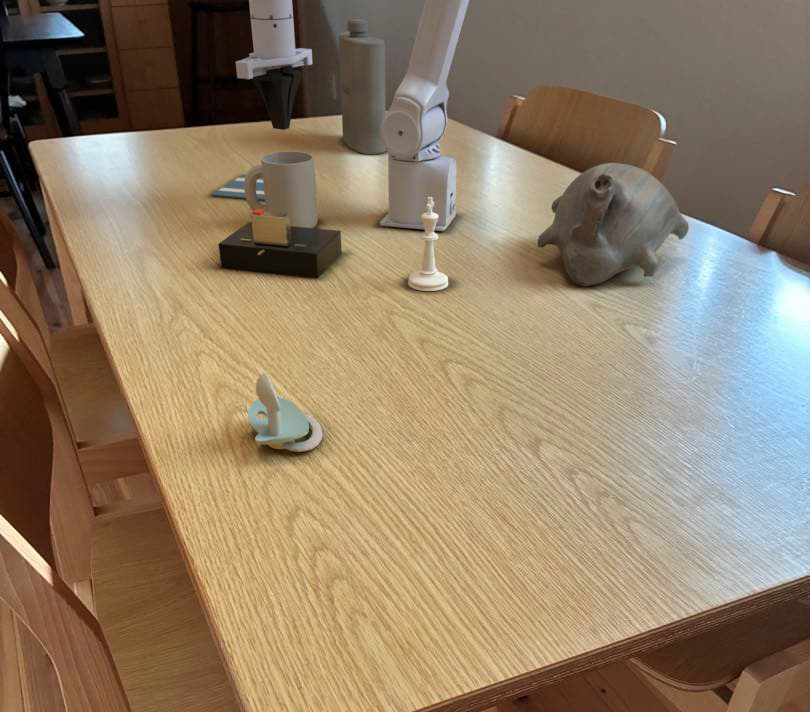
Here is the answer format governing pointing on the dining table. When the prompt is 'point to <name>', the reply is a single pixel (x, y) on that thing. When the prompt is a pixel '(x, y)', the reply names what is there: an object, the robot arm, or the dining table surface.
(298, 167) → the cup
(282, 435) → the pacifier
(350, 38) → the flask
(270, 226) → the tan flat block piece
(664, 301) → the dining table surface
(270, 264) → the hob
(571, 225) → the clay animal vessel
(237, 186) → the dish towel
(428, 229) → the chess piece
